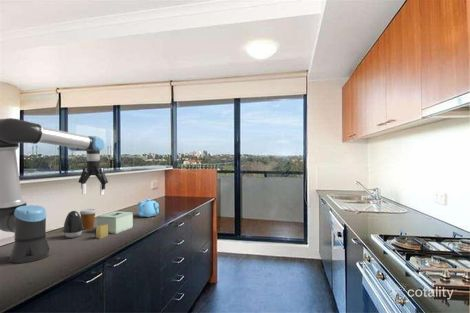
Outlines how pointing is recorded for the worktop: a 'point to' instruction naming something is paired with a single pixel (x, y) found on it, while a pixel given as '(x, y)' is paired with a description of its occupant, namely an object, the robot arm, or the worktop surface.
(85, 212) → the disposable coffee cup
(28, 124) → the robot arm
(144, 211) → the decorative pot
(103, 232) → the yellow block
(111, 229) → the money box
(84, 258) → the worktop surface
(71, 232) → the black dome on base
